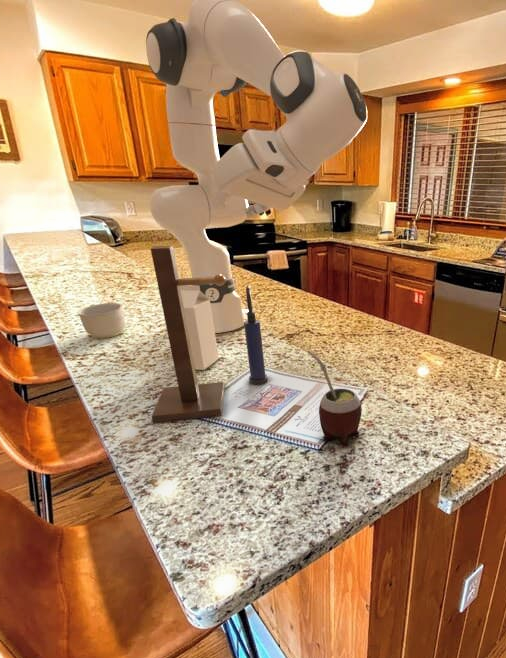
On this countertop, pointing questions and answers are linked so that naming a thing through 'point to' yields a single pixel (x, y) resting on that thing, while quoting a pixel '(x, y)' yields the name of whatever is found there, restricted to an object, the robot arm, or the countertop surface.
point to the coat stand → (182, 348)
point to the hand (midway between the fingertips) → (232, 210)
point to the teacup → (103, 319)
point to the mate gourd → (338, 411)
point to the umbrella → (254, 345)
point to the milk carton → (199, 326)
